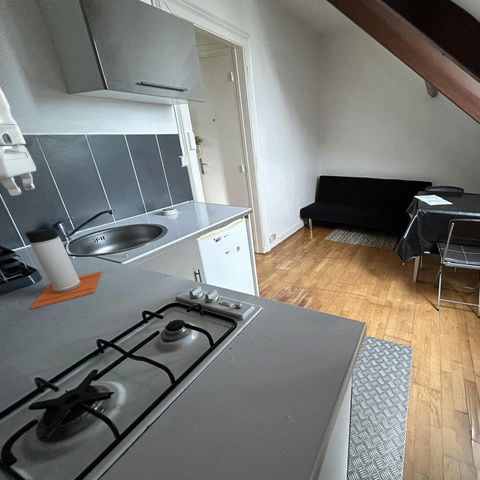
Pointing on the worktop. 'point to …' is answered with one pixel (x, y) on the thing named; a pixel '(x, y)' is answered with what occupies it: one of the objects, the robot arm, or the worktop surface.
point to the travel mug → (54, 259)
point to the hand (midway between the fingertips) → (24, 192)
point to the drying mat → (85, 288)
